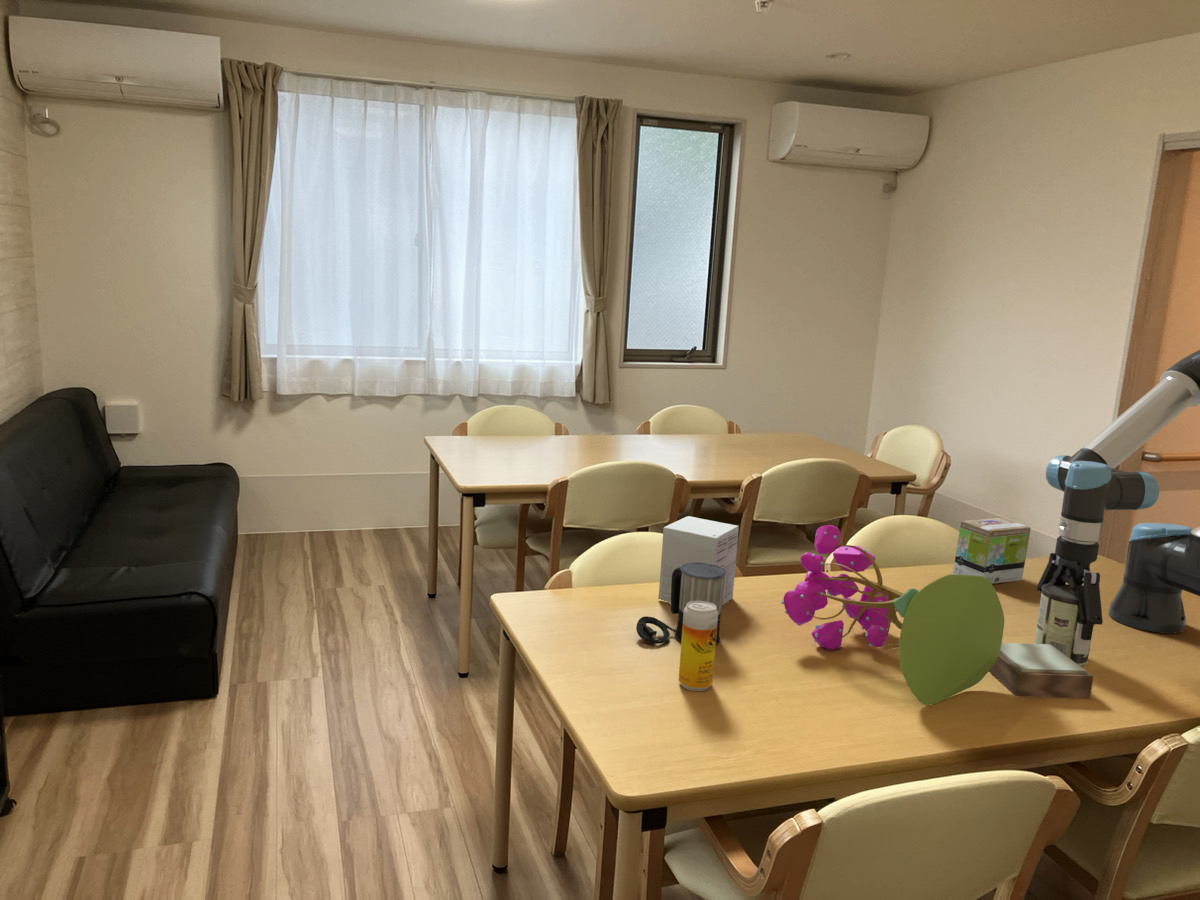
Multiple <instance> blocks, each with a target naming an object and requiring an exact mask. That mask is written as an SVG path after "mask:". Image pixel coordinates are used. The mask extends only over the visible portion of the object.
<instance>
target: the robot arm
mask: <svg viewBox="0 0 1200 900" xmlns="http://www.w3.org/2000/svg"><path fill="white" fill-rule="evenodd" d="M1199 405H1200V349H1199V350H1196V351H1194V352H1192V353H1190V354H1188V355H1187V356H1185V357H1183V358H1182V359H1180V360H1178V361H1177V362H1176V363H1174V364H1173V365H1172V366H1171V367H1169V368H1168V369H1167V370H1164V372H1163V373H1162V374H1161V375H1160V377H1159V382H1158V383H1157V384H1156V385H1155V386H1154V387H1152V388H1151V389H1150V390H1149V391H1148V392H1146V393H1145V394H1144V395H1142V397H1141V398H1140V399H1138V400H1137V401H1136V402H1135V403H1134V404H1132V405H1131V406H1130V407H1129V408H1127V409H1126V410H1125V411H1124V412H1123V413H1122V414H1120V415H1119V416H1118V417H1117V418H1116V419H1114V420H1112V422H1111V423H1110V424H1108V425H1107V426H1106V427H1105V428H1104V429H1102V430H1101V431H1100V432H1099V433H1098V434H1096V435H1095V436H1094V437H1093V438H1092V439H1090V441H1088V442H1087V443H1086V444H1084V445H1083V446H1082V447H1081V448H1080V449H1079V450H1078V451H1076V452H1075V453H1074V454H1073V455H1072V456H1071V455H1057V456H1054V457H1053V458H1051V459H1050V461H1049V462H1048V464H1047V466H1046V468H1045V479H1046V480H1047V481H1046V482H1047V483H1048V485H1050V486H1051V487H1052V488H1054V489H1056V490H1058V491H1061V492H1063V499H1062V505H1061V513H1060V519H1059V522H1058V526H1059V527H1058V532H1057V533H1058V535H1059V536H1058V537H1057V538H1056V545H1055V550H1054V551H1055V552H1051V553H1050V554H1049V558H1048V563H1047V564H1046V567H1045V569H1044V571H1043V573H1042V575H1041V576H1040V579H1039V582H1038V584H1037V585H1036V591H1037V592H1040V595H1041V594H1042V586H1043V585H1044V584H1049V583H1051V584H1053V585H1065V584H1068V585H1070V586H1071V589H1072V590H1073V591H1074V593H1075V598H1076V599H1078V603H1077V606H1078V610H1079V615H1080V619H1081V620H1079V621H1077V629H1076V635H1075V641H1074V647H1073V653H1074V654H1088V652H1089V653H1090V650H1089V646H1090V647H1091V643H1090V640H1091V641H1092V638H1093V637H1092V636H1093V631H1094V626H1095V625H1103V622H1104V620H1103V610H1102V600H1101V591H1100V590H1101V589H1100V580H1101V574H1100V572H1092V571H1091V564H1092V563H1095V562H1096V561H1097V560H1098V556H1099V550H1100V549H1099V548H1100V544H1099V543H1098V542H1100V541H1101V539H1102V532H1103V526H1104V518H1105V512H1106V511H1112V510H1113V511H1119V510H1120V511H1123V510H1124V511H1125V510H1127V511H1128V510H1132V511H1138V510H1144V509H1148V508H1151V507H1152V506H1154V505H1155V504H1156V503H1157V501H1158V500H1159V496H1160V486H1159V482H1158V480H1157V479H1156V478H1155V477H1154V476H1153V475H1152V474H1150V473H1148V472H1142V471H1136V470H1134V471H1124V470H1121V469H1117V468H1118V466H1119V465H1121V464H1122V463H1123V462H1124V461H1125V460H1126V459H1128V458H1129V457H1131V455H1132V454H1134V453H1135V452H1136V451H1138V449H1140V448H1142V446H1143V445H1144V444H1146V443H1147V442H1148V441H1149V440H1151V439H1152V438H1153V437H1154V436H1155V435H1156V434H1158V433H1159V432H1160V431H1161V430H1163V429H1164V428H1165V427H1166V426H1167V425H1168V424H1170V423H1171V422H1172V421H1173V420H1174V419H1176V418H1177V417H1178V416H1179V415H1180V414H1182V412H1184V411H1185V410H1186V409H1187V408H1191V407H1192V408H1193V407H1197V406H1199ZM1129 537H1130V538H1129V539H1128V548H1127V553H1126V560H1125V565H1124V572H1123V573H1124V574H1123V578H1122V579H1123V580H1122V583H1121V586H1120V587H1119V588H1118V591H1117V592H1116V594H1115V595H1114V598H1113V600H1112V601H1111V602H1110V605H1109V609H1108V615H1109V617H1111V618H1112V619H1113V620H1115V621H1117V622H1118V623H1121V624H1123V625H1125V626H1127V627H1130V628H1131V627H1132V628H1135V629H1138V630H1142V631H1147V632H1151V631H1154V632H1153V633H1158V632H1163V633H1162V634H1175V633H1174V632H1179V633H1182V632H1184V631H1183V630H1185V629H1186V623H1187V619H1186V615H1185V614H1186V613H1185V608H1184V604H1183V603H1184V602H1183V599H1182V593H1183V592H1184V591H1185V592H1188V593H1189V594H1193V595H1195V596H1198V597H1200V526H1198V527H1196V528H1194V529H1193V528H1192V527H1190V526H1188V525H1181V524H1174V523H1162V522H1140V523H1137V524H1135V525H1134V526H1133V527H1132V530H1131V534H1130V536H1129ZM1086 617H1087V618H1086ZM1181 631H1182V632H1181Z"/></svg>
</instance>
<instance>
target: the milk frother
mask: <svg viewBox="0 0 1200 900" xmlns="http://www.w3.org/2000/svg"><path fill="white" fill-rule="evenodd" d="M726 573H727V572H726V570H725V569H723V568H721V567H719V566H716V565H713V564H708V563H698V562H696V563H687V564H684V565H682V566H681V567H678V568H676V569H675V570H674V571H673V574H672V583H671V604H670V612H671V614H673V615H678V616H677V624H676V629H673V628H671V627H670V626H668V625H667V624H666V623H665V622H663V621H661V620H660V619H658V618H655V616H641V617H640V618H639V619H638V621H637V623H636V627H635V628H636V633H637V635H638V637H640V638H641V639H642V640H644V641H645V642H646V643H650V644H656V645H658V644H659V645H660V644H664V643H667V642H668V641H669V638H670V631H672V632H674V633H675V634H674V637H675V639H676V640H677V641H679V642H680V643H681V640H682V627H683V614H684V609H685V607H686V605H687V603H688V602H691V601H706V602H710V603H712V604H714V605H715V606H716V609H717V611H718V622H717V634H716V645H718V644H719V643H720V642H721V637H720V633H721V632H720V631H721V629H720V628H721V619H722V618H721V616H722V609H723V608H722V607H723V606H722V600H723V590H724V580H725V575H726ZM647 624H651V625H654V626H656V627H658V628H659V629H660V630H661V631H662V634H663V635H662V636H660V637H658V638H657V636H656V635H657V633H658V631H657V630H654V629H653V628H652V627H650V626H648V625H647Z"/></svg>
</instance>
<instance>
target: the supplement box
mask: <svg viewBox="0 0 1200 900" xmlns="http://www.w3.org/2000/svg"><path fill="white" fill-rule="evenodd" d="M662 530H663V531H662V544H661V547H662V548H661V557H660V558H661V561H660V571H659V572H660V573H659V588H658V599H661V600H664V601H667V602H670V603H671V583H672V574H673V571H674V570H675V569H676V568H678V567H681V566H682V565H684V564H687V563H696V562H698V563H708V564H713V565H716V566H719V567H721V568H723V569H725V570H726V572H727V573H726V575H725V580H724V590H723V600H722V605H723V606H724V605H725V604H727V603H729V602H730V601H731V600H732V598H734V588H735V575H736V563H737V551H738V541H739V530H740V529H739V525H735V524H731V523H725V522H721V521H720V522H719V521H715V520H711V519H710V520H709V519H704V518H699V517H695V516H690V515H688V516H685V517H683V518H680V519H679V520H677V521H674V522H671V523H670V524H667V525H666V526H664V527H663V528H662ZM658 599H657V600H658ZM729 600H730V601H729Z"/></svg>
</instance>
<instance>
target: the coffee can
mask: <svg viewBox="0 0 1200 900" xmlns="http://www.w3.org/2000/svg"><path fill="white" fill-rule="evenodd" d="M1077 603H1078V599H1076V598H1075V593H1074V591H1073V590H1072V589H1071V586H1070V585H1069V584H1068V583H1066V584H1065V585H1053V584H1051V583H1049V584H1044V585H1043V586H1042V594H1041V593H1040V602H1039V608H1038V615H1037V616H1038V617H1037V622H1036V630H1035V638H1034V642H1033V644H1051V645H1052V646H1054V647H1055V648H1056V649H1058V650H1059V651H1061V652H1062V653H1063V654H1065V655H1066V656H1067V657H1069V658H1070V659H1071V660H1073V661H1074V662H1075V663H1077V664H1078V665H1079V666H1081V667H1085V666H1087V665H1088V663H1089V655H1090V650H1091V645H1090V646H1089V652H1088V654H1074V653H1073V647H1074V641H1075V635H1076V629H1077V621H1079V620H1081V619H1080V615H1079V610H1078V606H1077ZM1086 618H1087V617H1086ZM1091 642H1092V639H1091V640H1090V644H1091Z"/></svg>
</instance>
